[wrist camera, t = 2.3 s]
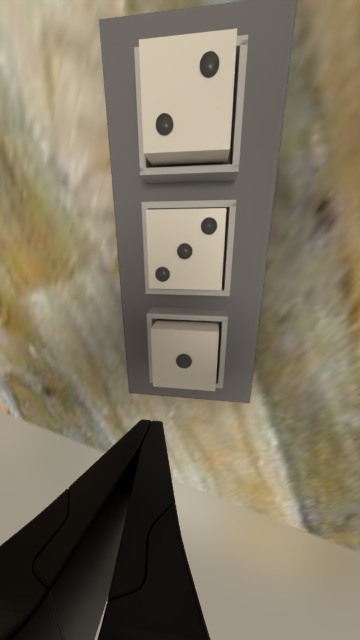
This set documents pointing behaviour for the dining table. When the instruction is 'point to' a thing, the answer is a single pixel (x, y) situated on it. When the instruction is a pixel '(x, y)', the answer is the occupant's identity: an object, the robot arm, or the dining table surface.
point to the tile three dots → (185, 248)
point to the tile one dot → (184, 354)
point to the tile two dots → (187, 96)
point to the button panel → (200, 185)
